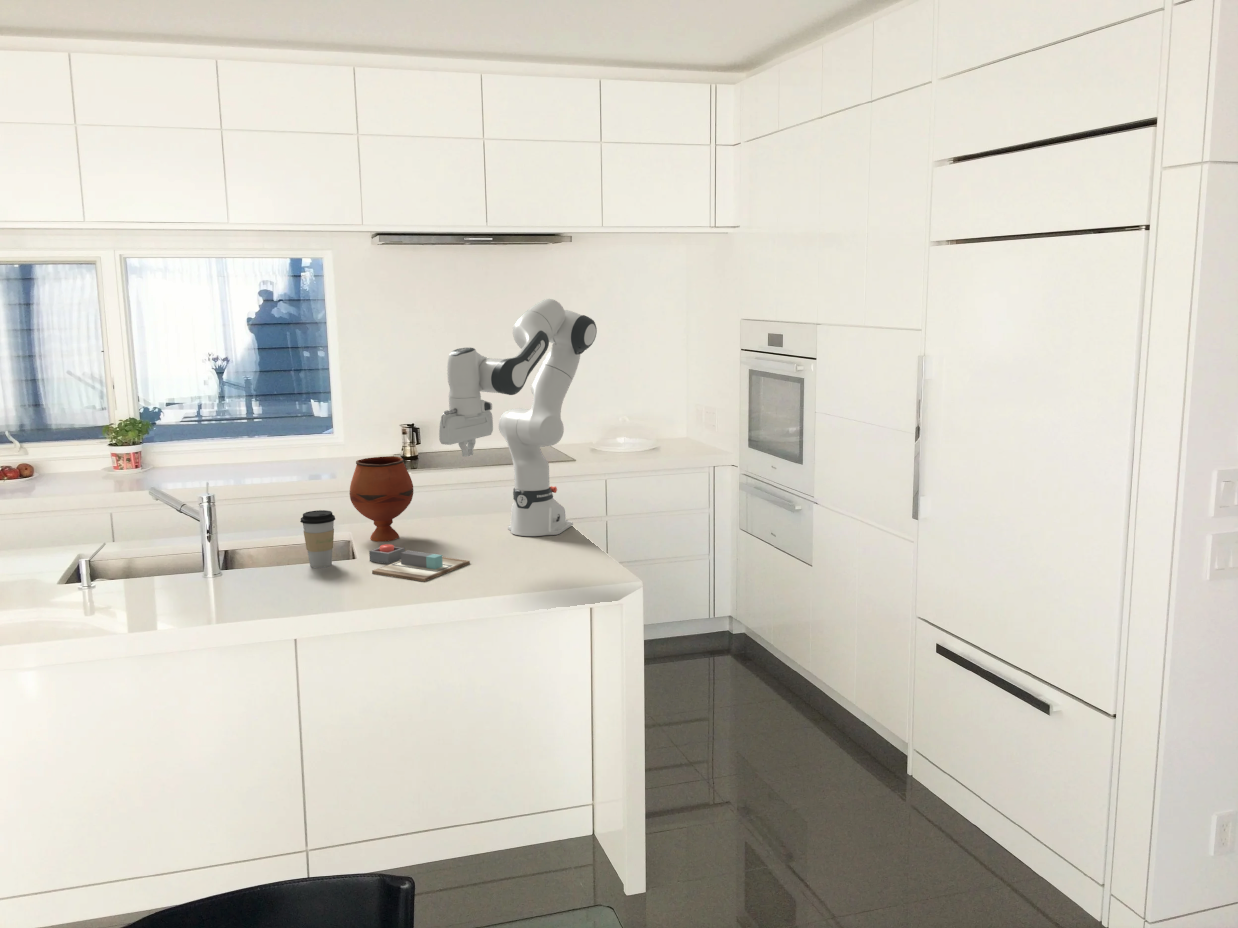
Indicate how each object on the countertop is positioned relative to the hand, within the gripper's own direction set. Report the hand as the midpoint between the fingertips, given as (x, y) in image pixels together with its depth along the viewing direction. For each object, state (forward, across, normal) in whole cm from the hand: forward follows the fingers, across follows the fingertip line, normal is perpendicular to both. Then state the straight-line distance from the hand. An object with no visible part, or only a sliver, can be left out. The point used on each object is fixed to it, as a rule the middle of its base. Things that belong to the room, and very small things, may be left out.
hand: (467, 455), depth 283 cm
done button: (+28, -11, +22) cm, 38 cm away
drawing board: (+30, -14, +7) cm, 34 cm away
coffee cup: (+30, -24, +35) cm, 52 cm away
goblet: (+30, +8, +40) cm, 51 cm away
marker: (+29, -14, +7) cm, 33 cm away
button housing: (+30, -11, +22) cm, 39 cm away
